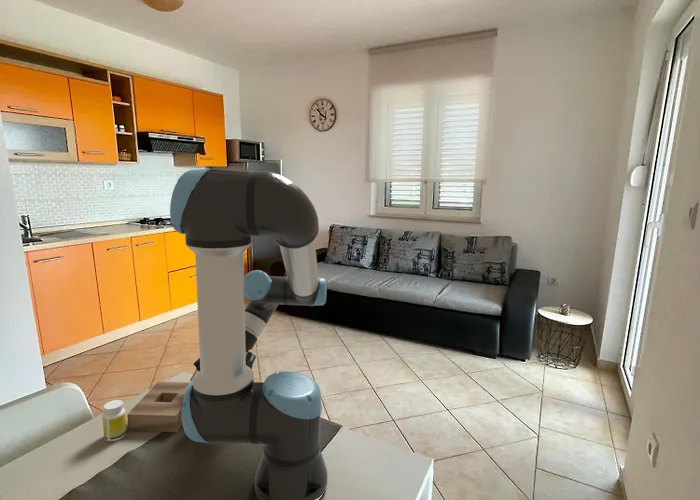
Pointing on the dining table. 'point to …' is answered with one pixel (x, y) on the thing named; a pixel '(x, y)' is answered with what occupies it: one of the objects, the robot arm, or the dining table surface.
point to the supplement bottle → (114, 421)
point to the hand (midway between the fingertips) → (202, 404)
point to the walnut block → (159, 408)
